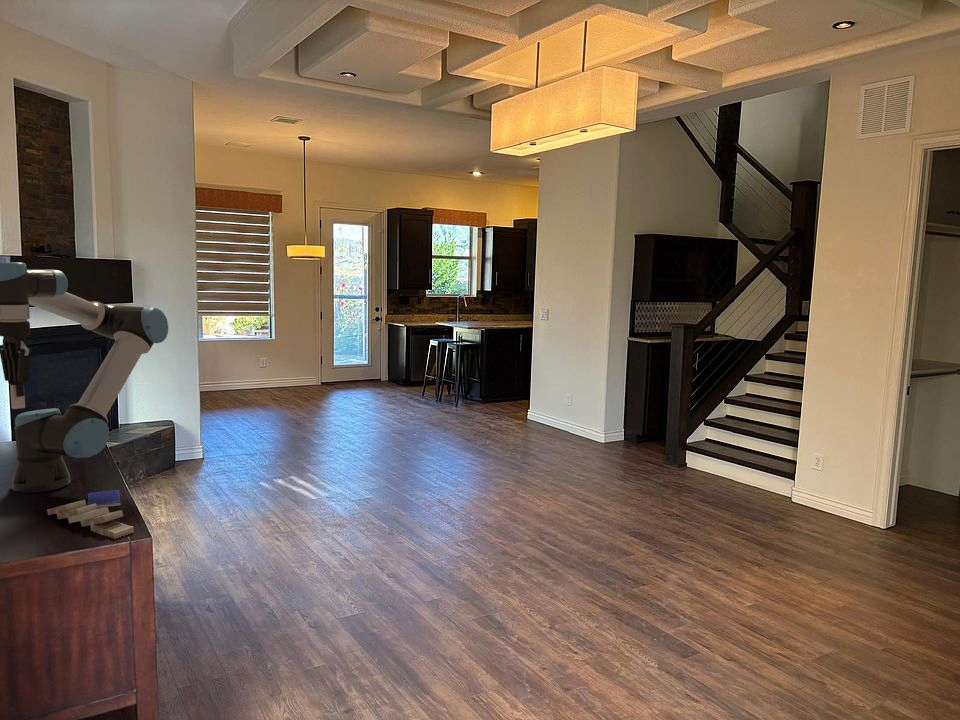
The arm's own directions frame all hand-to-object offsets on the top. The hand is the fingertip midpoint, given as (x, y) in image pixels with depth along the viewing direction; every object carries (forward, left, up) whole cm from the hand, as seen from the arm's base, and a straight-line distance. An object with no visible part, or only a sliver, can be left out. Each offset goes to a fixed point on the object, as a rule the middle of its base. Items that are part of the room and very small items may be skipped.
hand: (18, 407), depth 189 cm
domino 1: (+6, +8, -28) cm, 29 cm away
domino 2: (+11, +10, -28) cm, 32 cm away
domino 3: (+15, +13, -28) cm, 34 cm away
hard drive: (+1, +19, -29) cm, 35 cm away
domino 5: (+24, +18, -28) cm, 41 cm away
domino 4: (+20, +16, -28) cm, 37 cm away
